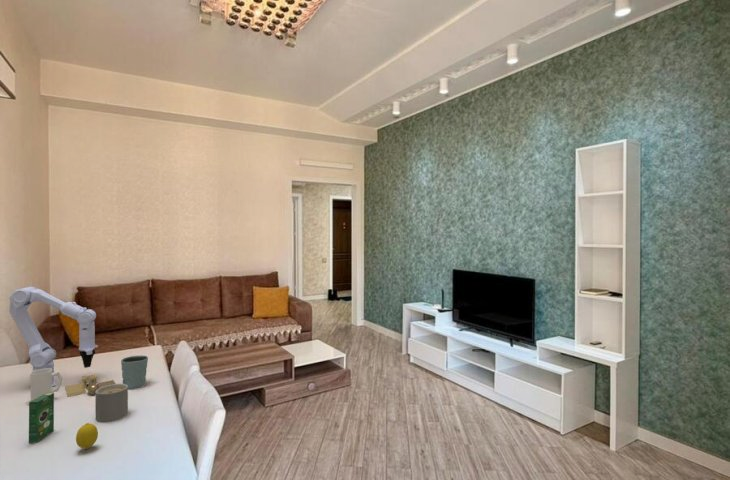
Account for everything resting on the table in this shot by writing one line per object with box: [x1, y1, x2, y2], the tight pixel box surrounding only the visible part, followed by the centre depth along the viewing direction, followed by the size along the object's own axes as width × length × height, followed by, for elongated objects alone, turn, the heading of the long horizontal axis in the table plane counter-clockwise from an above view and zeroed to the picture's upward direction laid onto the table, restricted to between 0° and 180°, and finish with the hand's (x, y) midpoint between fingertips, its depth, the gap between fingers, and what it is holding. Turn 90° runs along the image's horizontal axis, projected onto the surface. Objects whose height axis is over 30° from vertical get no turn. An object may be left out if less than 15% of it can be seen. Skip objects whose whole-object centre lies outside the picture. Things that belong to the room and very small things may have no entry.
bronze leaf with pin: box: [86, 379, 116, 396], centre depth 169 cm, size 12×10×4 cm
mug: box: [29, 368, 63, 401], centre depth 157 cm, size 10×7×12 cm, turn 124°
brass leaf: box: [64, 373, 97, 398], centre depth 169 cm, size 12×11×4 cm
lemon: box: [75, 422, 99, 450], centre depth 121 cm, size 6×6×8 cm
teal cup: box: [120, 355, 149, 391], centre depth 173 cm, size 10×10×12 cm
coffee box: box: [28, 392, 55, 444], centre depth 129 cm, size 8×3×13 cm, turn 6°
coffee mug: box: [94, 383, 129, 423], centre depth 145 cm, size 13×10×10 cm
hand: (87, 367), depth 178 cm, fingers closed
